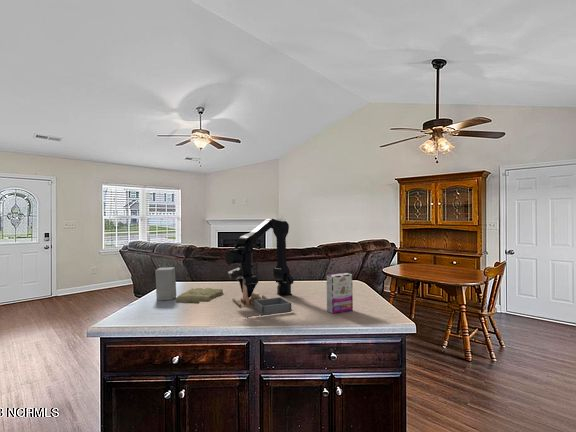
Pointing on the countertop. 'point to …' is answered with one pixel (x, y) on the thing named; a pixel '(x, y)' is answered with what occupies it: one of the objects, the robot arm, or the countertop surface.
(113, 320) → the countertop surface
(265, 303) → the tray
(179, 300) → the decorative tile
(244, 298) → the slat
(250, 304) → the rack
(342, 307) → the candy bar box
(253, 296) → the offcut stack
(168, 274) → the skincare box
